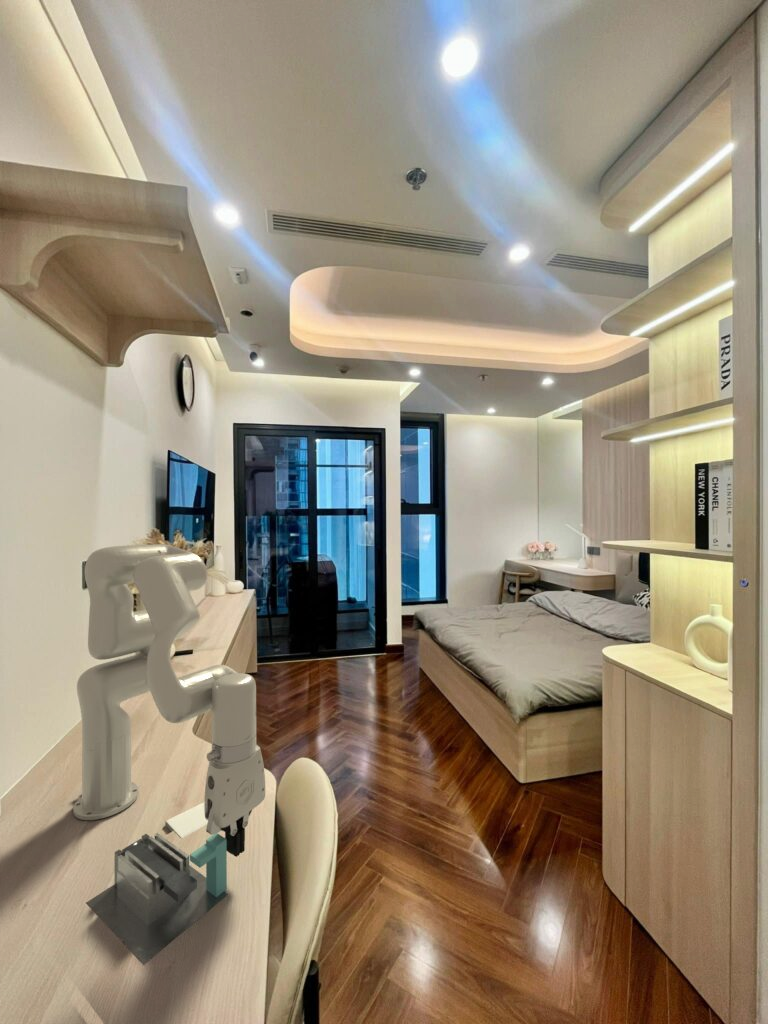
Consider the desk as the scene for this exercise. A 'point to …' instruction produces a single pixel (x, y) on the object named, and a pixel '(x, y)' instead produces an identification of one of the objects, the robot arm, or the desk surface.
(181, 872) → the dark grey flat bar
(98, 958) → the desk surface
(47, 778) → the desk surface
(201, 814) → the external hard drive
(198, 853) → the clip
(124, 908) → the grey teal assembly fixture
